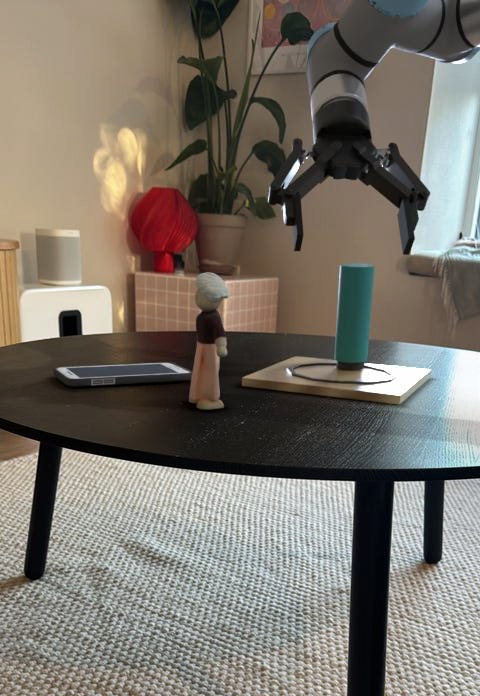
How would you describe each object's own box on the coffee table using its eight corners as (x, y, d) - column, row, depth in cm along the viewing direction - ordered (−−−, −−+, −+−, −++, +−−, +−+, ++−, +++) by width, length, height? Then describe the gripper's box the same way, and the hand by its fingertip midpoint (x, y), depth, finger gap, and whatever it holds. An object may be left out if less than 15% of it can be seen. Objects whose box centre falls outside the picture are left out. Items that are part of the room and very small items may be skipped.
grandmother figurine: (173, 399, 77) (173, 269, 73) (206, 396, 79) (208, 269, 74) (208, 415, 71) (211, 275, 67) (243, 412, 73) (248, 275, 68)
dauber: (370, 365, 94) (378, 264, 89) (361, 372, 90) (369, 267, 85) (339, 362, 95) (345, 262, 90) (329, 369, 92) (335, 265, 87)
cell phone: (196, 381, 86) (196, 372, 86) (68, 388, 80) (67, 379, 79) (171, 369, 92) (171, 361, 92) (51, 375, 86) (51, 366, 86)
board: (430, 377, 94) (431, 368, 94) (399, 404, 78) (401, 393, 78) (294, 363, 100) (295, 354, 100) (241, 386, 85) (241, 375, 85)
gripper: (423, 150, 104) (444, 269, 96) (245, 142, 103) (249, 263, 94) (440, 101, 98) (464, 225, 89) (249, 92, 96) (255, 217, 87)
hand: (354, 245), depth 92 cm, fingers open, 13 cm apart
